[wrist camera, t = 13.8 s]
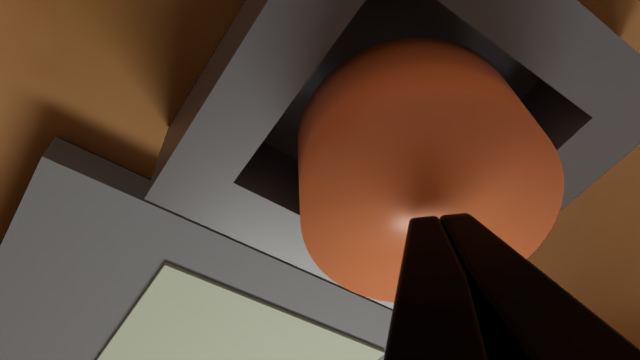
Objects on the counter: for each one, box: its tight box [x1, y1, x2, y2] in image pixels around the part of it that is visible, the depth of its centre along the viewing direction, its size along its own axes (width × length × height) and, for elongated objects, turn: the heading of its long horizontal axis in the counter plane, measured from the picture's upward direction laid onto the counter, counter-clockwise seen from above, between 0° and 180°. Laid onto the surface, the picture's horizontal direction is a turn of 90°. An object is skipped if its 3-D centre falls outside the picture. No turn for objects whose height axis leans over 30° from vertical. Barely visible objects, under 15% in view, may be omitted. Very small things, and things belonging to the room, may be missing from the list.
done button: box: [297, 38, 564, 303], centre depth 9 cm, size 4×4×2 cm
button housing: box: [144, 0, 640, 309], centre depth 11 cm, size 7×7×2 cm
